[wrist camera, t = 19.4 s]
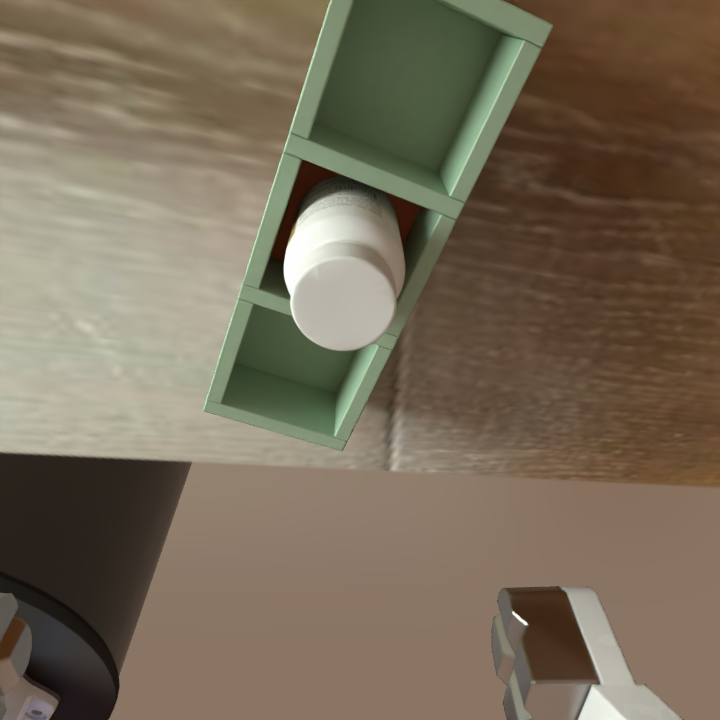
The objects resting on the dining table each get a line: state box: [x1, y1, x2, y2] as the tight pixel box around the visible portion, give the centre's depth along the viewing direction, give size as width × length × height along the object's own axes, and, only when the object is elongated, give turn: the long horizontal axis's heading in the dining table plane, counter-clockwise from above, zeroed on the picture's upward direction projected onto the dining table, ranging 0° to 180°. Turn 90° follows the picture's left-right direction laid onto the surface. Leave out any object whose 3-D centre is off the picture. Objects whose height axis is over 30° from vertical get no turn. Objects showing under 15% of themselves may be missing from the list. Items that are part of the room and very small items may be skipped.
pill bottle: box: [284, 175, 405, 351], centre depth 22 cm, size 4×4×8 cm
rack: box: [203, 0, 553, 451], centre depth 24 cm, size 19×7×4 cm, turn 158°
